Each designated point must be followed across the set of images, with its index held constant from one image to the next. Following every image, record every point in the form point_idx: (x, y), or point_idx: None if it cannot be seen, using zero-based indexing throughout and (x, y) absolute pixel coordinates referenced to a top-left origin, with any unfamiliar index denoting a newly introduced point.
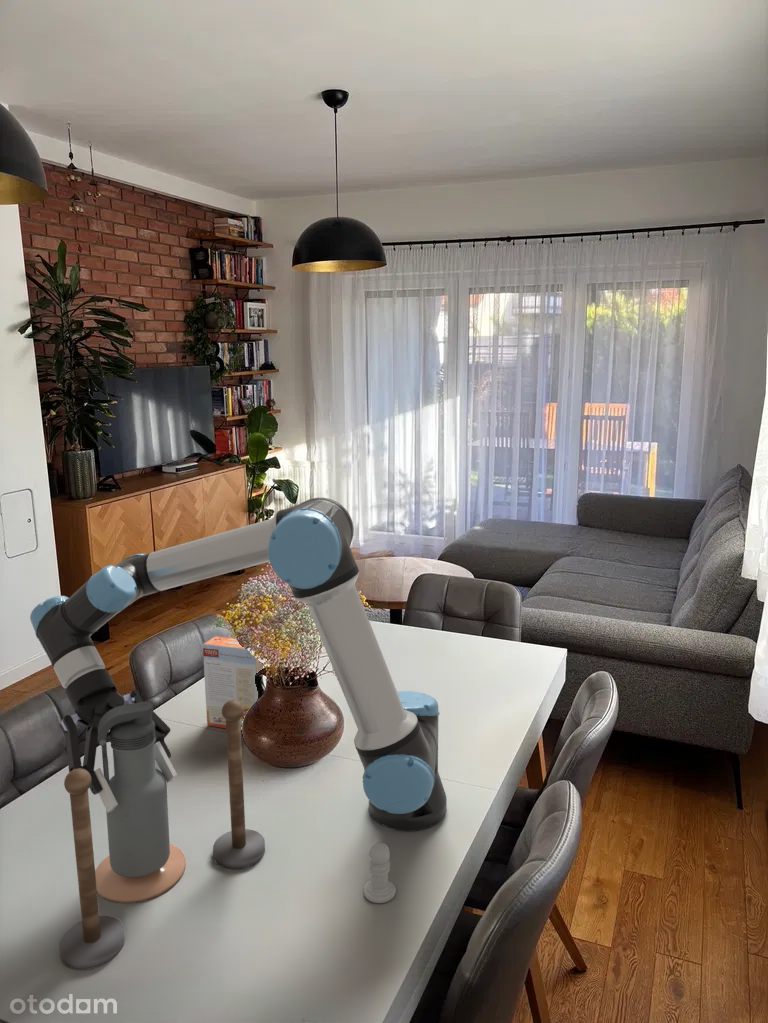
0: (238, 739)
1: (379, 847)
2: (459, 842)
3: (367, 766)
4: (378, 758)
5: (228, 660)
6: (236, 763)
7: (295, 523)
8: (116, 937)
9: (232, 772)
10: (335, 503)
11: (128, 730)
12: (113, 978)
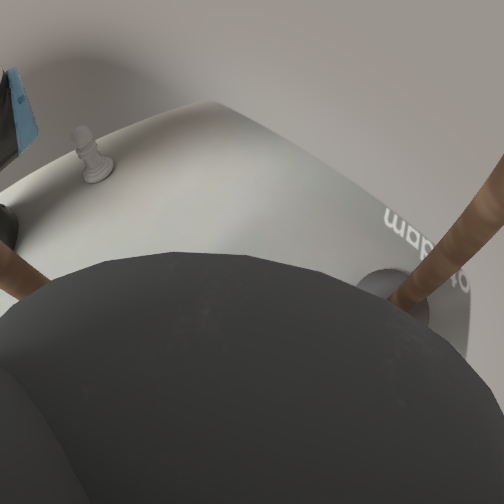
0: None
1: (79, 127)
2: (21, 183)
3: (7, 106)
4: (8, 82)
5: None
6: (14, 252)
7: None
8: (366, 286)
9: (33, 271)
10: None
11: (399, 430)
12: (380, 248)
